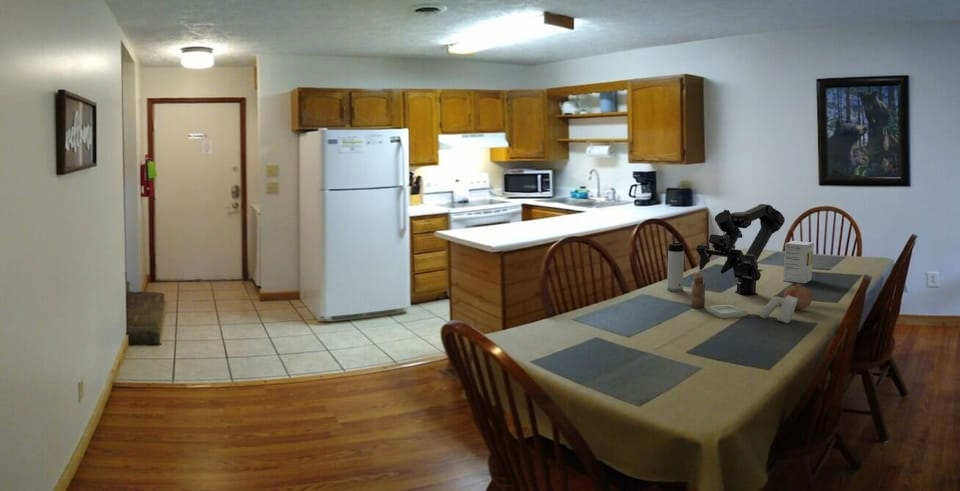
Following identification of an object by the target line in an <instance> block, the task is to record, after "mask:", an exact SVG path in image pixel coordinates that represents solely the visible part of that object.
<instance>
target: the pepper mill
mask: <svg viewBox="0 0 960 491" xmlns="http://www.w3.org/2000/svg"><path fill="white" fill-rule="evenodd" d="M693 279H694V280H693V281H692V282H691V294H690V296H691V302H690V308H691V309H694V310H695V309H696V310H702V309H705V302H706V282H705V281H704V273H703V272H701V271H696V272H695V273H694V277H693Z"/></svg>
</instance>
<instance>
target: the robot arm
mask: <svg viewBox="0 0 960 491" xmlns="http://www.w3.org/2000/svg"><path fill="white" fill-rule="evenodd" d="M758 219H759V220H760V221H759V224H760V229H759V231H758V232H757V234H756V236H755V238H754V239H753V241H752V242H751V245H750V246H749V248H748V250H747V251H746V253H745V254H744V253H743V251H742V250H741V249H737V248H736V245H735V244H736V243H737V241H738V240H739V239H742V238H743V234H742V230H741V229H747V228H749V227H750V226H751V225H752V222H753V221H754V222H755V220H758ZM785 219H786V218H785V216H784V215H783V214H782V212H780V211H779V210H778V209H776V208H774V207H773V206H772V205H770V204H764V203H760V204H758V205H757V206H754V207H752V208H750V209H748V210H747V209H746V210H745V211H735V212H732V213H731V211H730V210H729V209H724V210H723V211H720V212H719V213H717V214H716V215H715V216H714V221H715V223H716V225H717V227H718V229H719V230H720V231H721V232H722V235H719V234H713V233H710V234H709V239H708V243H710V244H711V247H712V248H713V249H712V248H710V247H709V245H707V244H697V246H696V247H695V251H696V252H697V254H698V255H699V257H700V259H699V261H700V262H699V268H698V269H699V270H700V271H702V270H703V269H704V268H705V267H706V265H707V264H708V263H709V262H710V258H711V257H712V256H718V257H721V258H726V261H725V262H724V264H723V266H722V268H721V269H720V274H722V275H723V274H724V273H726V272H728V271H729V270H731V269H733V274H734V275H733V276H734V278H736V279H737V282H736V290H735V291H734V292H735V293H736V294H739V295H742V296H754V295H759V293H758V292H757V281H759V280H760V279H761V276H762V275H761V272H760V270H759V262H758V260H759V258H760V256H761V254H762V253H763V251H764V250H765V248H766V246H767V244H768V242H769V240H770V239H771V237H772V235H773V234H775V233H777V232H778V231H780V229H781V228H782V227H783V225H784V224H785V222H786V220H785Z"/></svg>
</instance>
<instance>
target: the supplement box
mask: <svg viewBox="0 0 960 491" xmlns="http://www.w3.org/2000/svg"><path fill="white" fill-rule="evenodd" d="M814 244H815V243H814V242H811V241H801V240H800V241H799V240H791V241H788V242H785V244H784V263H783V277H782V278H783V279H782V280H783V281H784V282H791V283H796V284H798V283H799V284H807V283H808V282H811V281H812V276H813V275H812V273H813V259H814Z"/></svg>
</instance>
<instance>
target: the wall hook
mask: <svg viewBox="0 0 960 491" xmlns="http://www.w3.org/2000/svg"><path fill="white" fill-rule="evenodd" d="M797 301H798V298H795V297H792V296H789V295H788V296H787V297H786V298H785V299H784V298H783V300H782V298H781V297H780V296H774V297H772V299H770V301H768V303H767V304H766V305H765V306H763V308H761V310H760V311H759V312H758V315H759V317H761V318H762V319H764V320H766V318H768V317H769V316H771V314H772V313H773V312H774V311H775V310H776V309H777V308H778V307H779V306H781V307H780V310H779V313H778V316H777V319H776V320H777V321H778V322H782V323H784V324H787V323H788V324H789V323H790V321H791V320H792V318H793V316H794V313H795V311H796V310H795V307H796V304H797Z"/></svg>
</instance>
